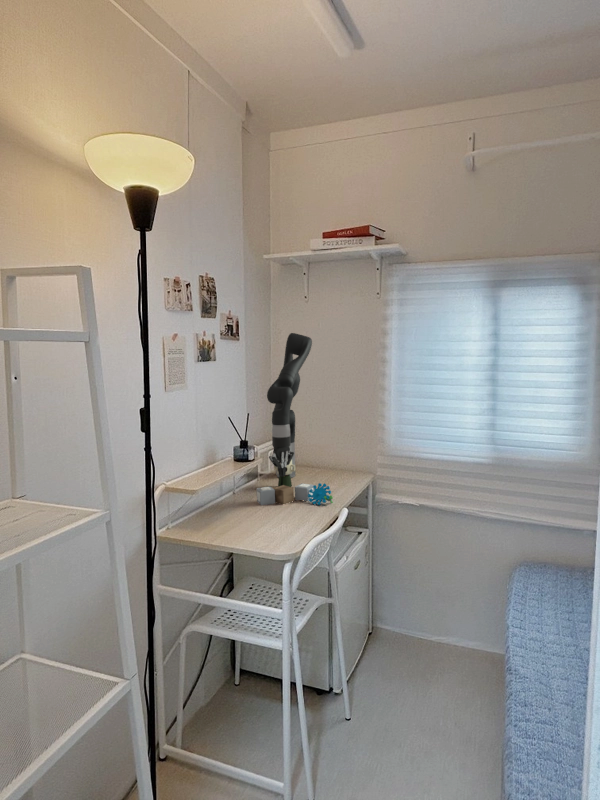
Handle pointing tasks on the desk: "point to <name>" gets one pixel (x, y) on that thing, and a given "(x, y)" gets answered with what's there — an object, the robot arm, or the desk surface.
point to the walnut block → (284, 494)
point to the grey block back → (303, 491)
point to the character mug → (286, 475)
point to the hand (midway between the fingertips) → (282, 476)
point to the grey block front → (265, 495)
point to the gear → (320, 494)
